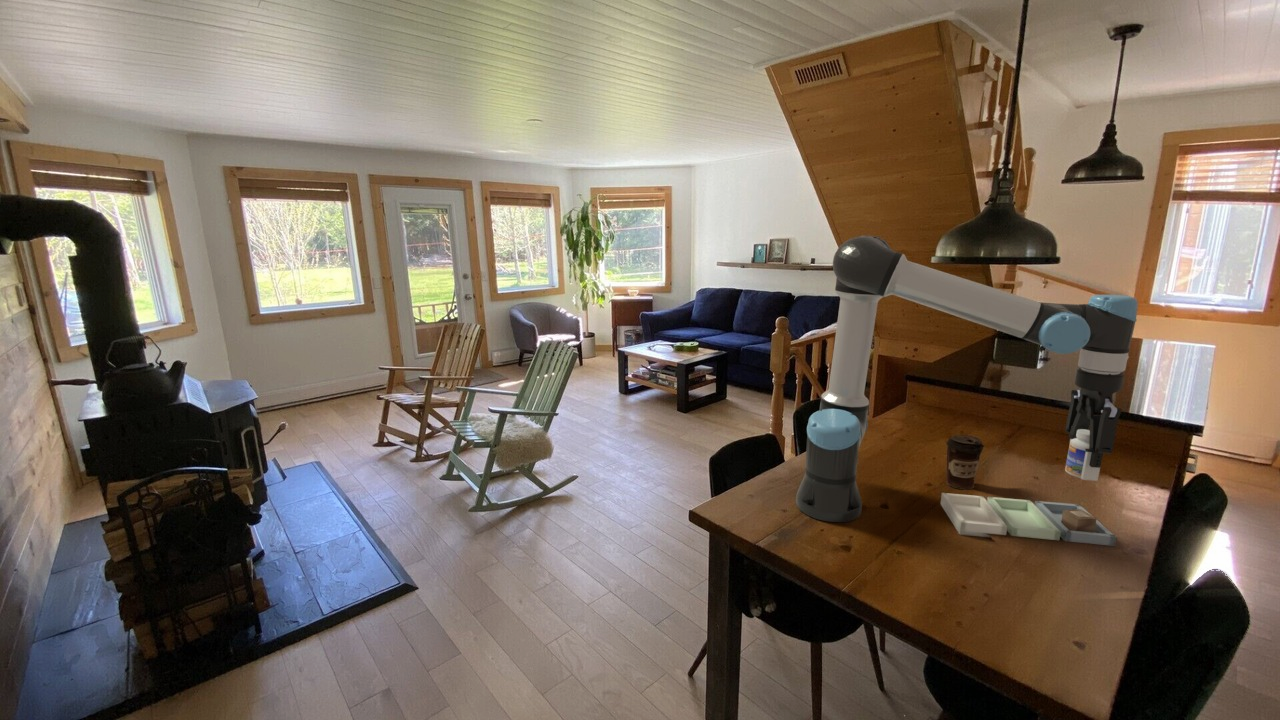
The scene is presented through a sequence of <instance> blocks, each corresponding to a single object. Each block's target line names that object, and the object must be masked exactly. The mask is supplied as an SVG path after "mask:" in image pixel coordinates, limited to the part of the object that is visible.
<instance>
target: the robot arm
mask: <svg viewBox="0 0 1280 720" xmlns="http://www.w3.org/2000/svg"><path fill="white" fill-rule="evenodd" d="M832 269H833V273H834V275H835V277H836V278H835V288H834V292H835V293H836V294H837V295H838V297H839V298H840V300H839V308H838V314H837V315H838V316H837V322H836V330H835V336H834V337H835V338H834V345H833V352H832V359H831V368H830V373H829V374H830V376H829V381H828V389H827V390H825V391H824V392H823V393H821V396H820V404H819V410H817V411H815V412H813V413H812V414H811V415H810V416H809V418H808V423H807V426H806V434H807V435H806V436H807V437H806V452H805V453H806V454H805V455H806V456H805V471H804V476H803V478H802V480H801V482H800V484H799V487H798V489H797V492H796V494H795V495H796V497H795V504H796V507H797V508H798V510H799V511H800V512H802V513H804V515H806V516H808V517H811V518H813V519H816V520H819V521H824V522H829V523H847V522H852V521H854V520H856V519H858V518H859V517H860V515H861V514H862V507H863V505H862V504H863V503H862V499H861V495H860V491H859V487H858V484H857V471H858V470H857V469H858V458H859V457H858V456H859V450H860V446H861V444H862V441H863V439H864V436H865V434H866V432H867V430H868V425H869V421H868V413H869V406H870V400H869V399H868V398H867V397H866V395H865V389H866V383H867V375H868V369H869V361H870V356H871V351H872V350H871V349H872V343H873V337H874V331H875V330H874V329H875V324H876V323H875V322H876V318H877V317H876V316H877V311H878V303H879V302H880V300H881V299H882V298H886V297H888V296H891V295H892V296H895V297H899V298H901V299H904V300H907V301H910V302H913V303H916V304H919V305H922V306H925V307H928V308H931V309H934V310H937V311H940V312H943V313H946V314H948V315H951V316H952V315H953V316H955V317H958V318H961V319H963V320H966V321H970V322H972V323H976V324H978V325H981V326H984V327H987V328H991V329H993V330H996V331H999V332H1002V333H1005V334H1008V335H1011V336H1013V337H1017V338H1020V339H1022V340H1025V341H1027V342H1030V343H1034V344H1036V345H1039V346H1042V347H1043V348H1045V350H1048V351H1050V352H1052V353H1055V354H1061V355H1063V354H1064V355H1065V354H1072V353H1075V352H1078V351H1079V350H1080V351H1079V356H1078V362H1077V366H1078V367H1079V368H1077V370H1076V374H1075V379H1074V385H1075V386H1076V387H1077V388H1080V389H1071V391H1070V403H1069V409H1068V414H1067V418H1066V422H1065V423H1066V424H1065V429H1064V431H1065V433H1068V437H1069V443H1070V442H1071V440H1072V439H1074V438H1077V437H1076V433H1077V430H1079V429H1087V430H1090V442H1089V449H1085V450H1086V453H1085V458H1084V464H1083V469H1082V474H1081V478H1080V479H1081V480H1082V481H1095V482H1098V480H1099V475H1100V472H1101V466H1102V461H1103V457H1104V454H1112V453H1113V451H1114V450H1113V449H1114V444H1115V440H1116V439H1115V438H1116V435H1117V434H1116V433H1117V428H1118V423H1119V418H1120V416H1121V414H1122V411H1123V410H1122V408H1121V407H1116V406H1115V405H1114V399H1113V395H1114V394H1115V393H1118V392H1121V391H1122V389H1123V386H1124V385H1123V384H1124V380H1125V374H1124V373H1123V372H1125V371H1126V368H1127V364H1128V363H1127V362H1128V360H1129V358H1130V356H1129V353H1130V346H1131V342H1132V339H1133V335H1134V330H1135V326H1136V322H1137V315H1138V314H1137V313H1138V299H1136V298H1135V297H1133V296H1130V295H1122V294H1093V295H1091V296H1090V298H1089V301H1088V302H1087V303H1082V304H1079V303H1078V304H1074V303H1072V304H1071V303H1053V302H1052V303H1051V302H1040V301H1036V300H1033V299H1030V298H1026V297H1024V296H1020V295H1017V294H1014V293H1011V292H1008V291H1005V290H1002V289H999V288H996V287H992V286H989V285H986V284H983V283H980V282H976V281H973V280H970V279H967V278H964V277H960V276H957V275H955V274H951V273H947V272H945V271H941V270H938V269H935V268H932V267H929V266H926V265H923V264H920V263H916V262H912V261H910V260H908V259H907V257H906V255H905V254H904V253H901V252H899V251H896V250H892V249H891V247H890V245H889V244H888V243H887V241H885V240H883V239H882V238H880V237H877V236H873V235H861V236H855V237H852V238H849V239H848V240H846V241H844V242H843V243H842V244H840V246H839V247H838V248H837V250H836V251H835V253H834V256H833V259H832ZM1069 446H1070V444H1069ZM1069 446H1068V447H1069ZM1067 451H1068V452H1069V450H1067ZM1068 452H1067V453H1068Z"/></svg>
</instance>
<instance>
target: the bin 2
mask: <svg viewBox="0 0 1280 720" xmlns="http://www.w3.org/2000/svg"><path fill="white" fill-rule="evenodd" d="M1034 505H1035V506H1036V507H1037V508H1038V509H1039V510H1040V511H1041V512H1042V513H1043V514H1044V515H1045V516H1046V517H1047V518H1048V519H1049V520H1050V521H1051V522H1052V523H1053V524H1054V525H1055V526H1056V527H1057V528H1058V529H1059V530H1060V531H1061V534H1060V538H1061V539H1062V540H1063V541H1064V542H1070V543H1071V542H1072V543H1081V544H1090V545H1091V544H1092V545H1099V546H1102V545H1103V546H1112V547H1115V546H1116V541H1117V536H1116V535H1115V534H1114V533H1112V532H1111V531H1110V530H1109V529H1108V528H1107V527H1106V526H1104V525H1103V524H1102V523H1101V522H1100V521H1099V520H1098V519H1097V520H1096V525H1095V530H1094V533H1091V532H1080V531H1070V530H1068V529H1067V528H1066V527H1065V526H1064V525H1063V524H1062V523H1061V520H1062V514H1063V510H1075V509H1081V510H1083V511H1085V512H1086V513H1088V514H1090V515H1091V516H1093V515H1092V514H1091V513H1090V512H1088V511H1087V510H1086V509H1085V508H1084V507H1083V506H1081V505H1080V504H1076V503H1067V502H1066V503H1065V502H1054V501H1053V502H1052V501H1042V500H1035V501H1034Z"/></svg>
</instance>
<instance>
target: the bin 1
mask: <svg viewBox="0 0 1280 720" xmlns="http://www.w3.org/2000/svg"><path fill="white" fill-rule="evenodd" d="M940 506H941V507H942V509H943V511H944V512H945V513H946V515H947V517H948V518H949V520H950V521H951V523H952V524H953V527H954V528H955V529H956V531H957V533H958V535H961V536H972V537H980V538H992V536H990V535H1001V536H1007V532H1008V531H1007V525H1006V524H1005V523H1004V522H1003V521H1002V519H1001V518H1000V517H999V516H998V514H997V513H996V512H995V511H994V509H993V508H992V507H991V506H990V504H989V503H988V502H987V499H986V498H985V497H984V496H983V495H970V494H960V493H948V492H947V493H946V492H941V496H940Z"/></svg>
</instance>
